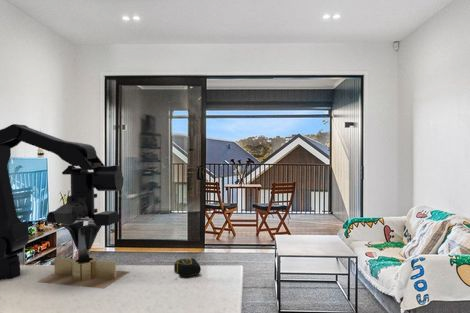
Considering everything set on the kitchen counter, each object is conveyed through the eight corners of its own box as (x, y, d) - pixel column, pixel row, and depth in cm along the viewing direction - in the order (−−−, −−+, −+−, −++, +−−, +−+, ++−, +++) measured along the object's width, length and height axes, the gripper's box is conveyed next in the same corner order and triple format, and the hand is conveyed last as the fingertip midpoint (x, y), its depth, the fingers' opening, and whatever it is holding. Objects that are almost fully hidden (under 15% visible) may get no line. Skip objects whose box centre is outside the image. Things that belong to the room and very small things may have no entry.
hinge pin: (75, 261, 95) (75, 227, 95) (82, 258, 97) (82, 225, 97) (84, 262, 94) (84, 228, 94) (91, 259, 97) (91, 226, 97)
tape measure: (201, 277, 98) (201, 263, 98) (176, 280, 96) (176, 266, 95) (196, 269, 104) (196, 256, 104) (172, 271, 102) (172, 258, 102)
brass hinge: (46, 278, 95) (46, 261, 95) (63, 270, 101) (63, 254, 101) (108, 283, 91) (108, 266, 91) (121, 275, 97) (121, 258, 97)
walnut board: (36, 285, 93) (36, 281, 93) (68, 270, 104) (68, 266, 104) (104, 292, 88) (103, 288, 88) (130, 275, 99) (130, 271, 99)
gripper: (29, 194, 90) (30, 255, 90) (94, 195, 85) (95, 260, 86) (61, 189, 101) (62, 244, 101) (120, 190, 96) (121, 248, 96)
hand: (83, 249), depth 96 cm, fingers closed on hinge pin, 3 cm apart
